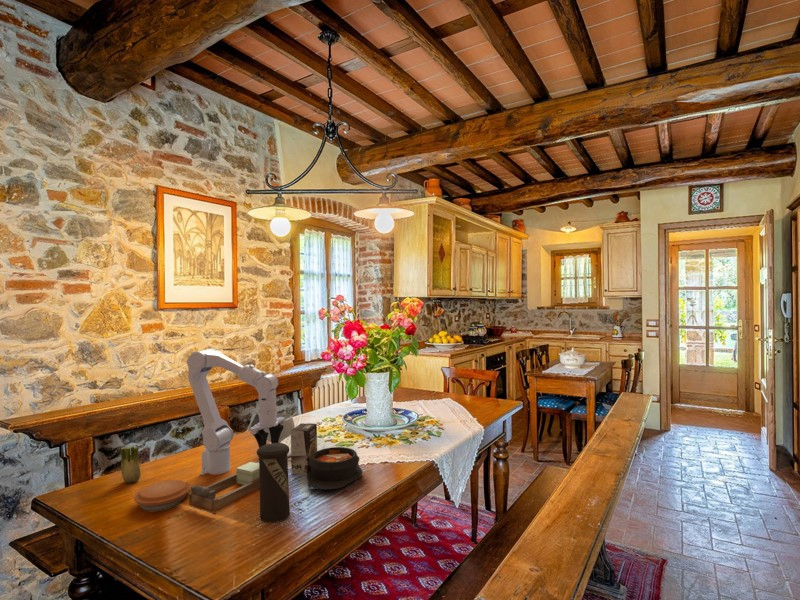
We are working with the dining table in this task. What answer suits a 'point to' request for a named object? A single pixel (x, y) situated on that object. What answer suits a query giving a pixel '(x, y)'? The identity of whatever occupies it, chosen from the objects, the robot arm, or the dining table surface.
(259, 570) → the dining table surface
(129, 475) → the fennel bulb
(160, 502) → the pie
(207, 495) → the bay
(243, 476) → the pale green block
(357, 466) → the casserole
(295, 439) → the coffee box
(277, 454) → the container
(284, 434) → the chalice
